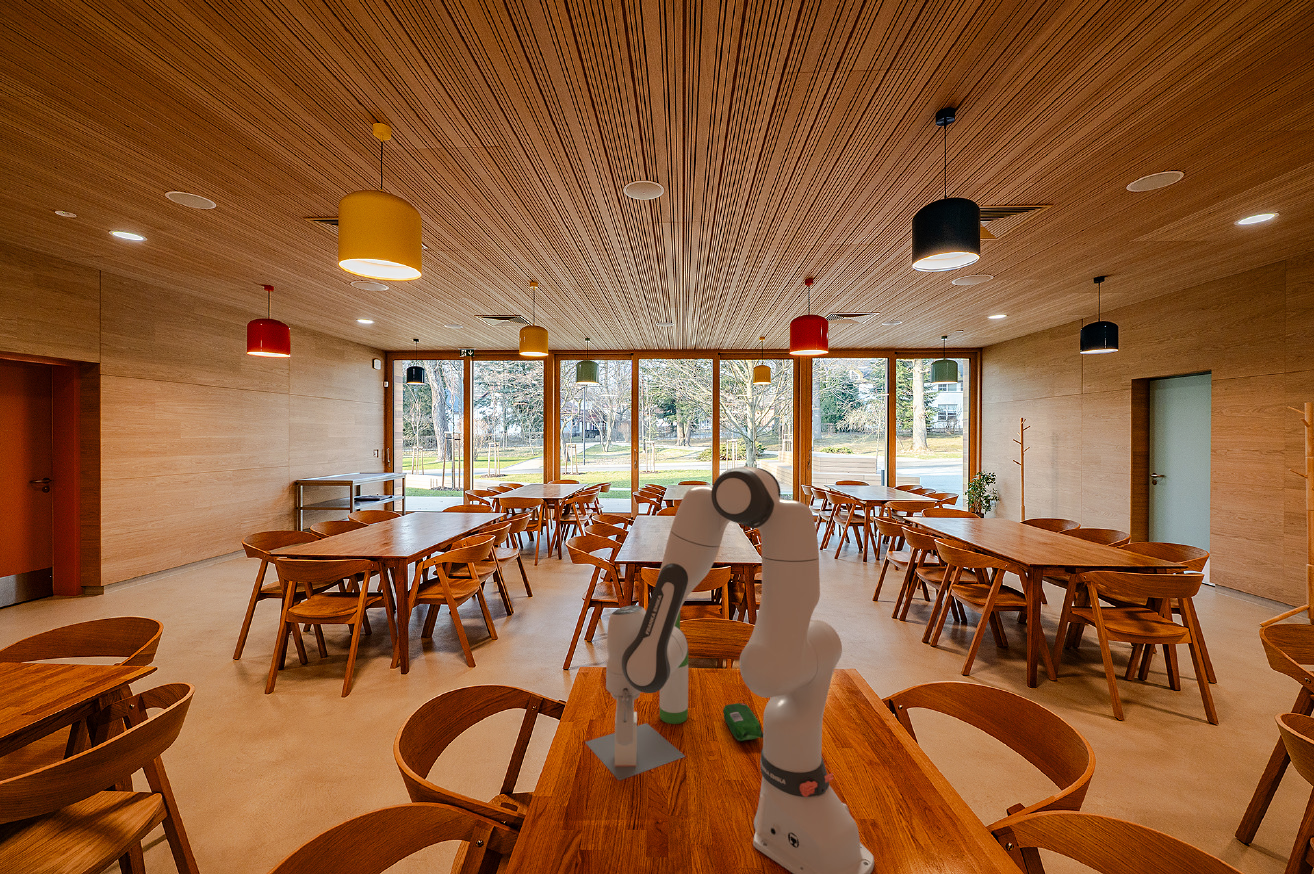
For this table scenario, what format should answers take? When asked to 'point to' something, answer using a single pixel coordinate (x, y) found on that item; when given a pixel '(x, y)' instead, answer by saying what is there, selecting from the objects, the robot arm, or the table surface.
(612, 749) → the mat
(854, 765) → the table surface
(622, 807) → the table surface
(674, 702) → the wine bottle
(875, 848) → the table surface
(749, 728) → the snack package
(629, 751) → the block
